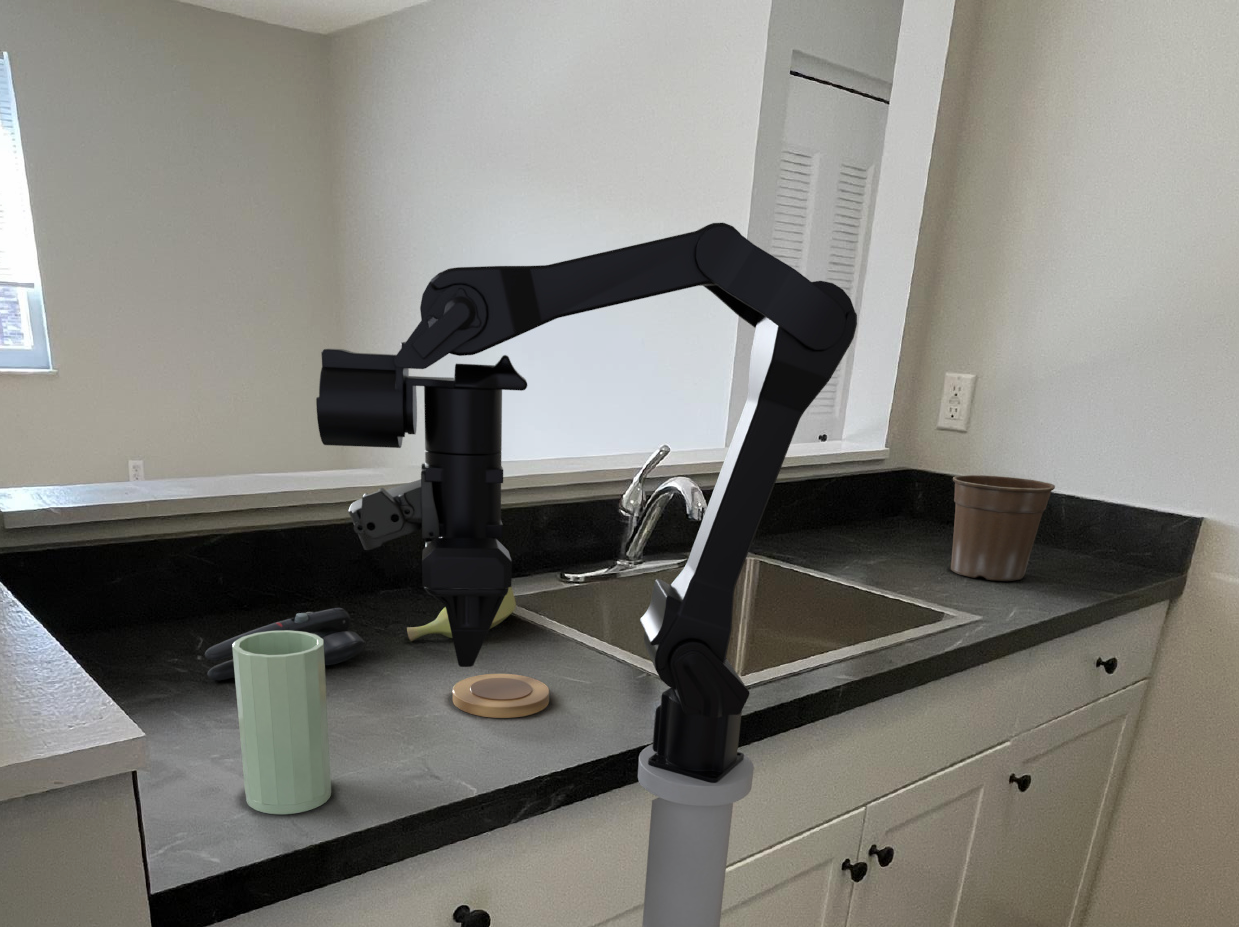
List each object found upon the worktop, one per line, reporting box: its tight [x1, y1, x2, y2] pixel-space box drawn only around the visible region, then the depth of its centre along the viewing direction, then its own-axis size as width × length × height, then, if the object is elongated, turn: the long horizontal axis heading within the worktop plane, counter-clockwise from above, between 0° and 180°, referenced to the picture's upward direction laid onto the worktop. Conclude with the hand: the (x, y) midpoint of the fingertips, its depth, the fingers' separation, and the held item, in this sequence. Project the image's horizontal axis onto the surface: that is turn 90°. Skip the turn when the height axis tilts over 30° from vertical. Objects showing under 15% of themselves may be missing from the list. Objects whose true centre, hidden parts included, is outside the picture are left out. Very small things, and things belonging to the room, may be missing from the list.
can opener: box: [204, 607, 367, 682], centre depth 107 cm, size 18×7×6 cm, turn 134°
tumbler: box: [232, 630, 332, 815], centre depth 77 cm, size 7×7×13 cm
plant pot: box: [950, 474, 1056, 582], centre depth 168 cm, size 16×16×16 cm
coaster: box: [452, 673, 550, 719], centre depth 101 cm, size 10×10×1 cm
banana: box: [406, 586, 517, 642], centre depth 126 cm, size 14×6×20 cm
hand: (464, 647), depth 79 cm, fingers open, 9 cm apart
